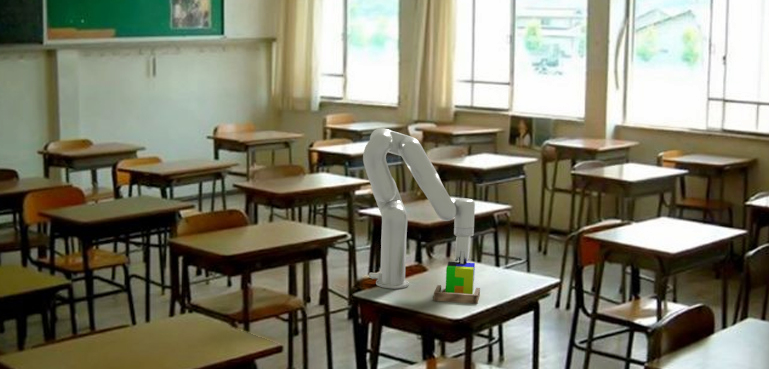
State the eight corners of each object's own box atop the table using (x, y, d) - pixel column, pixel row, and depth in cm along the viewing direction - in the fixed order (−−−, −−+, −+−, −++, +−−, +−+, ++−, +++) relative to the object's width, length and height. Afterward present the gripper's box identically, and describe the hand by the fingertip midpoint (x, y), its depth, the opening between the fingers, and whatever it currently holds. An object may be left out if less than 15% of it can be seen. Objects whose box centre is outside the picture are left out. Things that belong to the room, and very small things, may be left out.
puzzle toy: (473, 288, 408) (474, 263, 406) (472, 295, 398) (473, 269, 396) (447, 286, 409) (448, 261, 407) (445, 293, 399) (446, 267, 397)
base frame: (433, 300, 389) (433, 292, 389) (437, 292, 400) (437, 285, 400) (477, 303, 387) (477, 295, 386) (479, 295, 398) (480, 287, 397)
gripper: (455, 226, 416) (454, 272, 419) (452, 234, 401) (450, 282, 404) (475, 227, 415) (473, 273, 418) (472, 235, 400) (470, 283, 403)
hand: (462, 277), depth 411 cm, fingers closed
